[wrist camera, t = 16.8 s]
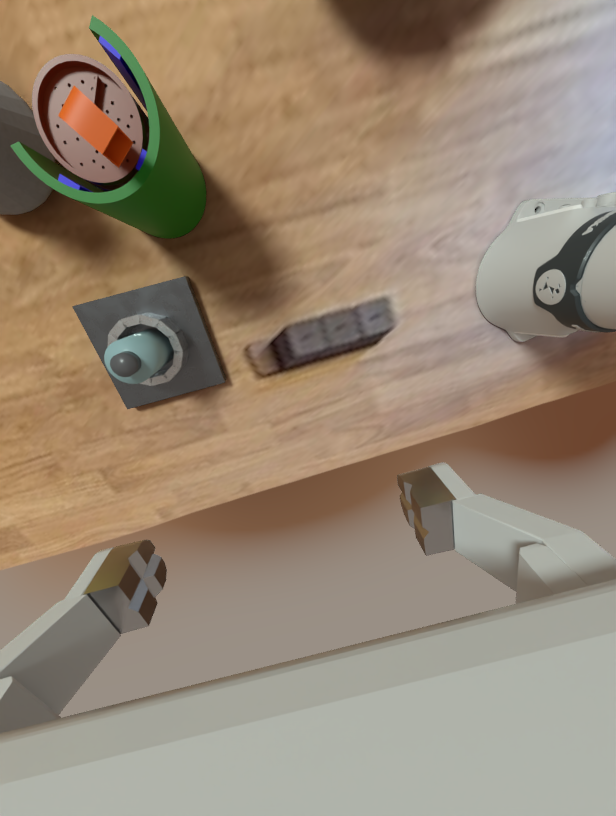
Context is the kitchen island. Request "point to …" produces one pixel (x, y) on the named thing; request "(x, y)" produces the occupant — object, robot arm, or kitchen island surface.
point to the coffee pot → (4, 171)
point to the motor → (114, 142)
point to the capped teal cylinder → (138, 356)
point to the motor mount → (175, 318)
